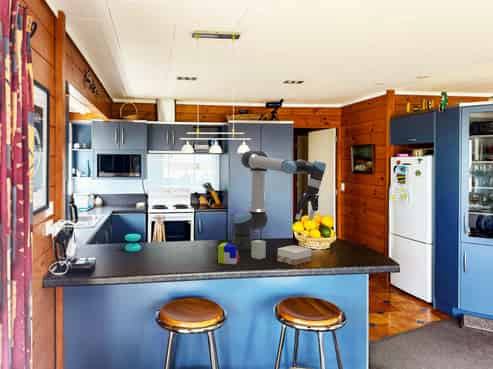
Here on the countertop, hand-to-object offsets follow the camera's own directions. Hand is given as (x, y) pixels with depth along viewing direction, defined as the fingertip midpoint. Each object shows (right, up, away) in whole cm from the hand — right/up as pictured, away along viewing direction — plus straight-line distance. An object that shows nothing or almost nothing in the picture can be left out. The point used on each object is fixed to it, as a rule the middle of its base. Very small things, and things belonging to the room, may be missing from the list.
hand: (303, 220), depth 250 cm
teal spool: (-108, -21, +16) cm, 111 cm away
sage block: (-28, -23, 0) cm, 36 cm away
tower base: (-7, -24, -8) cm, 26 cm away
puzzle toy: (-45, -24, -10) cm, 52 cm away
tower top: (-7, -20, -8) cm, 23 cm away
